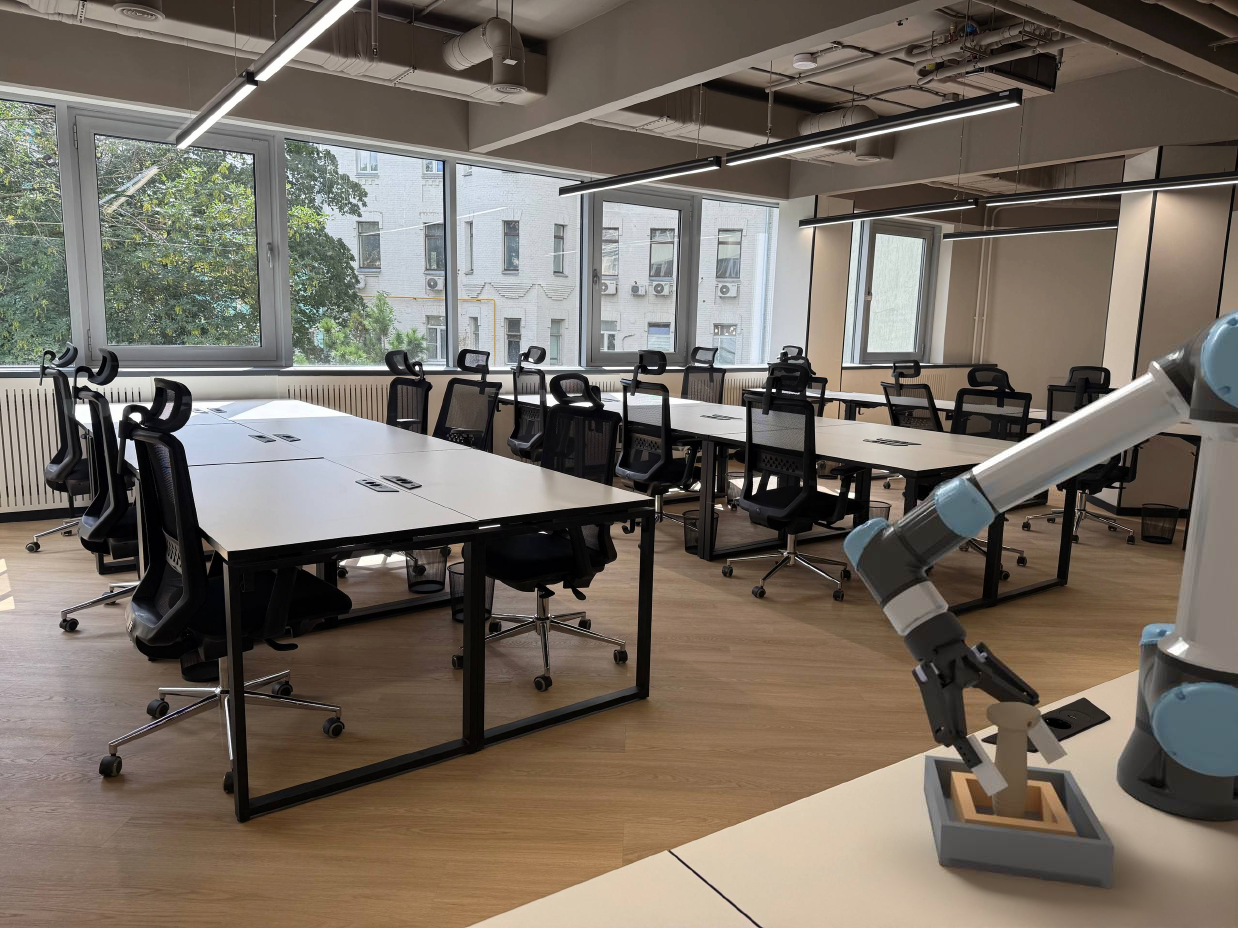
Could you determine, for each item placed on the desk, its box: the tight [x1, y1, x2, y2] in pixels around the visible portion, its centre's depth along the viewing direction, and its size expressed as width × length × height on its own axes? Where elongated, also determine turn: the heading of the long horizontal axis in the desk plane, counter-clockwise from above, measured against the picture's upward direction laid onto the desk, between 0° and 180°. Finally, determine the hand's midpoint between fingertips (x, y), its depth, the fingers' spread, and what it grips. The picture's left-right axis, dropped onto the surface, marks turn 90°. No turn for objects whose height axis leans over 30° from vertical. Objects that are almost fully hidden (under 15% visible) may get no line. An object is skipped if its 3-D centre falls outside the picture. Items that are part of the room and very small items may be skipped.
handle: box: [985, 702, 1042, 819], centre depth 103 cm, size 5×6×15 cm
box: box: [923, 754, 1115, 889], centre depth 104 cm, size 18×18×5 cm
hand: (1029, 774), depth 101 cm, fingers open, 13 cm apart
